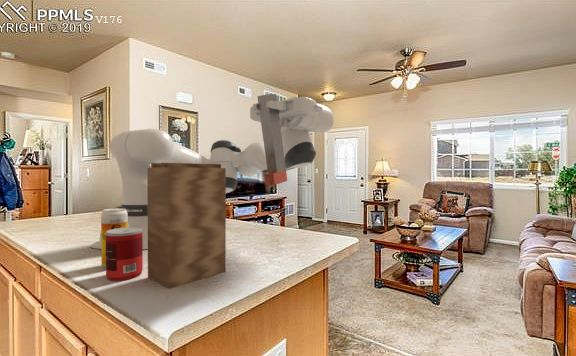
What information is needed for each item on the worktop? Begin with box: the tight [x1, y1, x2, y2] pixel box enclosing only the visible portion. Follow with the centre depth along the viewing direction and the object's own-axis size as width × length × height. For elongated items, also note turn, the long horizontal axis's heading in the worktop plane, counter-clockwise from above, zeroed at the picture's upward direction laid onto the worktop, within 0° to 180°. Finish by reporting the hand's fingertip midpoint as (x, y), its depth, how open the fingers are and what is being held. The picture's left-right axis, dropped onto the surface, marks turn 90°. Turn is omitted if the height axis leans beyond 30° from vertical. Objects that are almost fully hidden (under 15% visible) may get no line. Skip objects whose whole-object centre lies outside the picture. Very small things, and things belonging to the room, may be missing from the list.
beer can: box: [100, 208, 128, 269], centre depth 81 cm, size 6×6×15 cm
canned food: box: [105, 227, 144, 282], centre depth 73 cm, size 8×8×11 cm
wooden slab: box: [147, 163, 227, 289], centre depth 74 cm, size 15×10×27 cm, turn 138°
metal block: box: [257, 93, 288, 186], centre depth 80 cm, size 23×4×5 cm
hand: (261, 105), depth 77 cm, fingers closed on metal block, 3 cm apart
